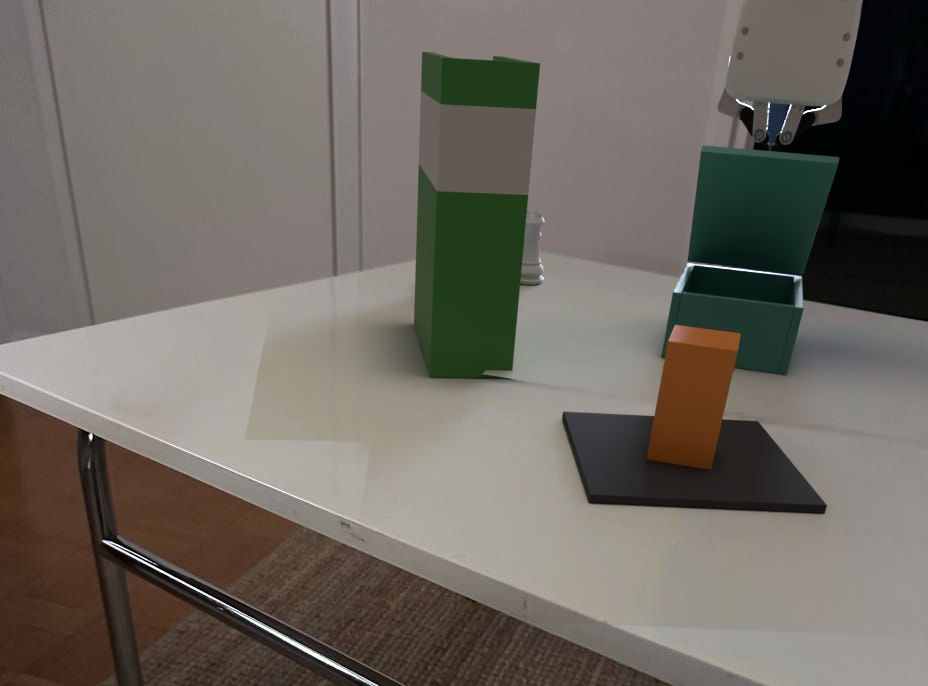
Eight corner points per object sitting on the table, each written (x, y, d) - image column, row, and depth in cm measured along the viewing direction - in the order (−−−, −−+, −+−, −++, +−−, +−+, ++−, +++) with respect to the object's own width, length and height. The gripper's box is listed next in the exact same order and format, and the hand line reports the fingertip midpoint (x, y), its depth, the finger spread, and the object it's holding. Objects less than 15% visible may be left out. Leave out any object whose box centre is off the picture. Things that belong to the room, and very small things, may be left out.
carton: (710, 470, 65) (737, 350, 61) (646, 459, 66) (668, 340, 62) (715, 448, 69) (740, 333, 64) (653, 438, 70) (674, 324, 65)
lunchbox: (784, 383, 86) (804, 308, 82) (659, 365, 88) (672, 292, 84) (785, 343, 97) (802, 276, 94) (674, 329, 100) (687, 262, 96)
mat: (756, 427, 75) (758, 420, 75) (825, 513, 62) (827, 505, 61) (561, 418, 75) (562, 411, 74) (589, 502, 61) (590, 494, 61)
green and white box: (413, 323, 96) (422, 51, 83) (483, 325, 97) (503, 56, 84) (429, 377, 81) (442, 57, 68) (511, 378, 82) (540, 63, 69)
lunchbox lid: (838, 163, 79) (839, 156, 79) (700, 151, 81) (702, 145, 81) (802, 275, 93) (803, 268, 93) (687, 261, 96) (688, 255, 96)
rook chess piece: (504, 277, 117) (510, 208, 112) (538, 277, 118) (545, 209, 113) (512, 285, 113) (518, 214, 109) (547, 285, 114) (555, 215, 110)
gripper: (906, -47, 77) (843, 194, 87) (725, -54, 81) (684, 178, 91) (915, -55, 71) (846, 204, 81) (719, -62, 75) (676, 187, 85)
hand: (761, 190), depth 86 cm, fingers closed
